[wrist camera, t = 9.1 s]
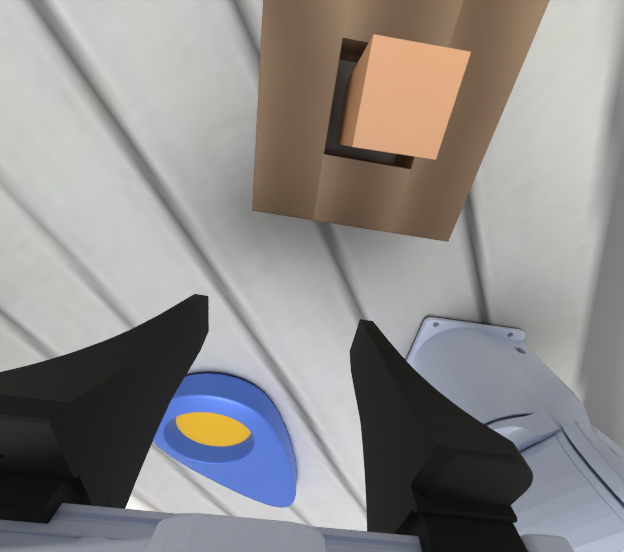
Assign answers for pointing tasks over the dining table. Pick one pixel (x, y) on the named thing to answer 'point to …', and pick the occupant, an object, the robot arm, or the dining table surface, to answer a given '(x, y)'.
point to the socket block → (329, 101)
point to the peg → (401, 97)
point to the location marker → (230, 437)
